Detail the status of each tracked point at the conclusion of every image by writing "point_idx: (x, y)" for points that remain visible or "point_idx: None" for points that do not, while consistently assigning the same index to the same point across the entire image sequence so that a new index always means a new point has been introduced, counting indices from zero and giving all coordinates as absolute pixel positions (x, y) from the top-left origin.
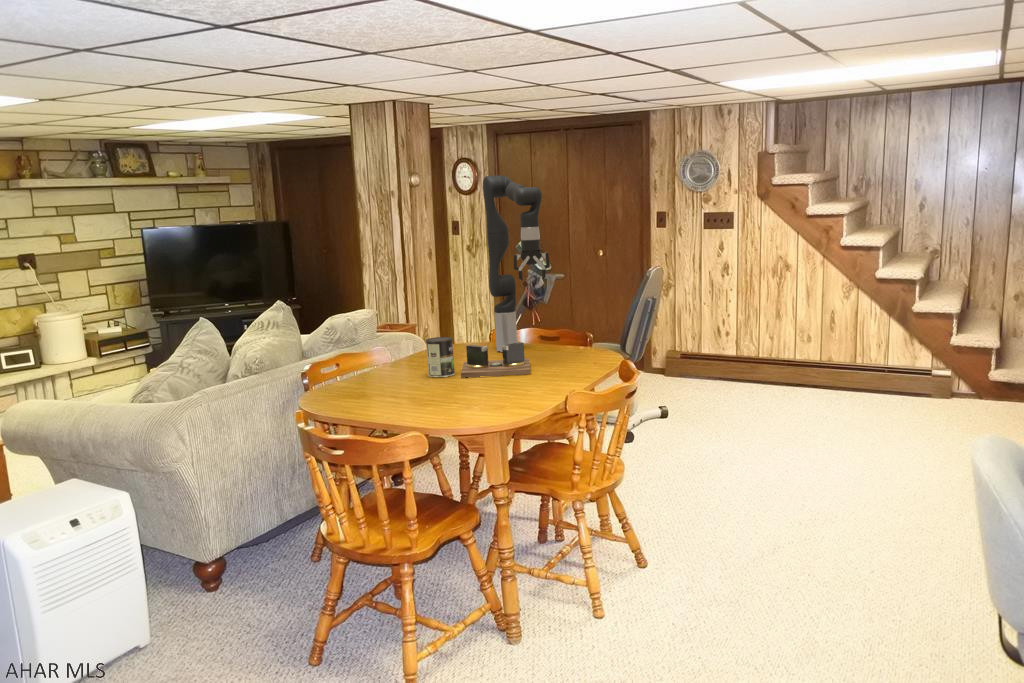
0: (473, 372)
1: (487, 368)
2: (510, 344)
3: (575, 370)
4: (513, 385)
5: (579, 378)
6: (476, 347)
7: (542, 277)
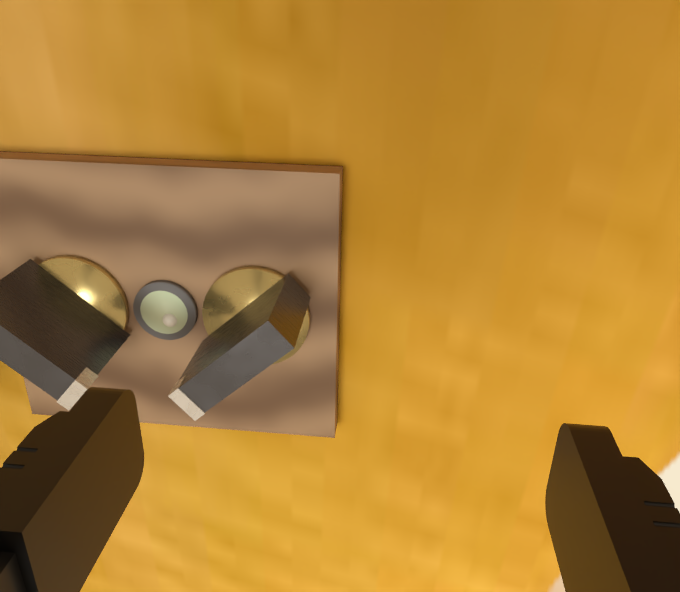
0: None
1: (134, 361)
2: (215, 376)
3: (548, 404)
4: (268, 554)
5: (525, 534)
6: (26, 375)
7: (554, 536)
